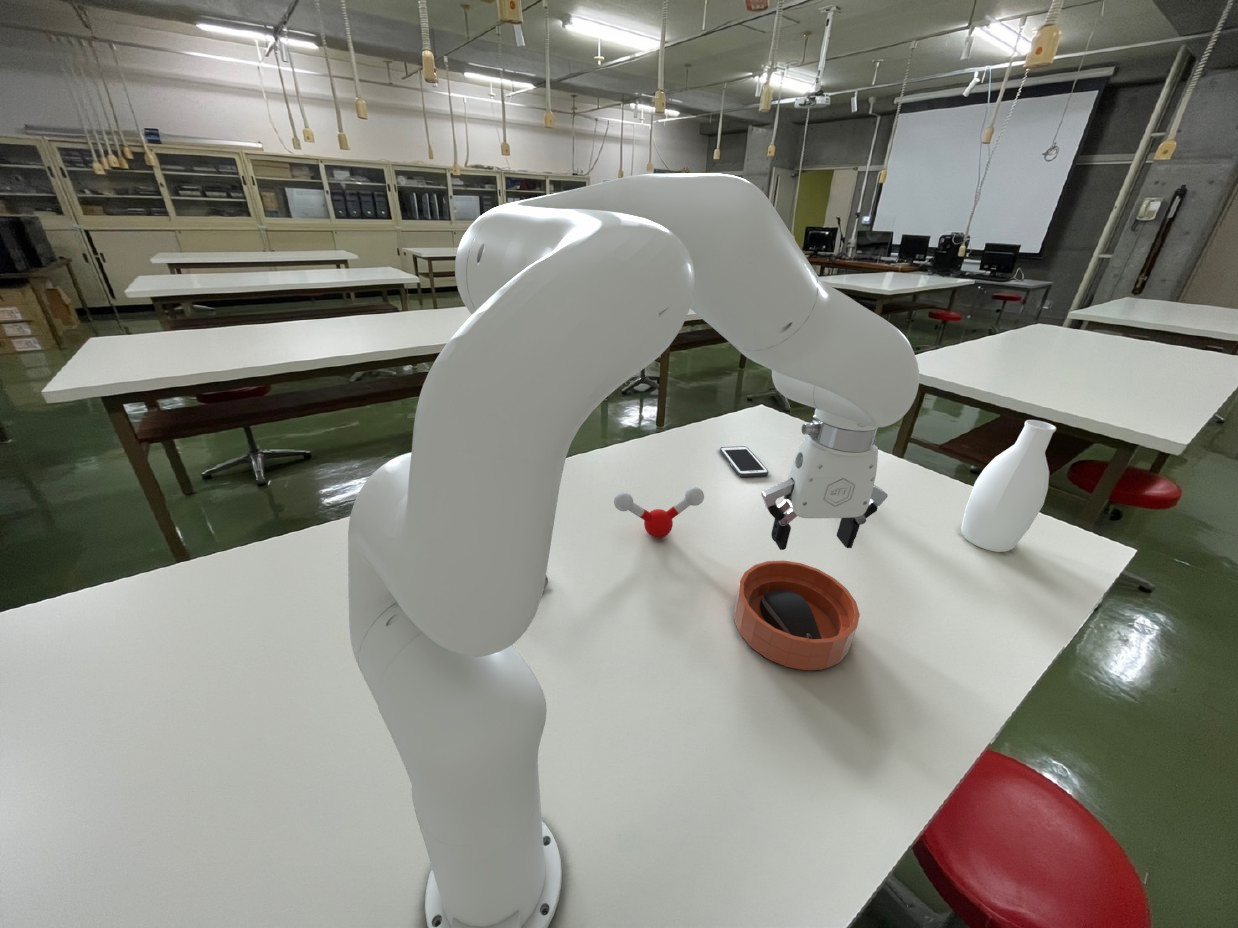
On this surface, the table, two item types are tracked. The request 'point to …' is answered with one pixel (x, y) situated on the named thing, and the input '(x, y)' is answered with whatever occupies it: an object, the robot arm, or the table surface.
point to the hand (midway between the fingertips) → (811, 543)
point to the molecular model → (659, 511)
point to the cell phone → (743, 461)
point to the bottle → (1009, 491)
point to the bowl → (825, 600)
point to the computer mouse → (789, 614)
